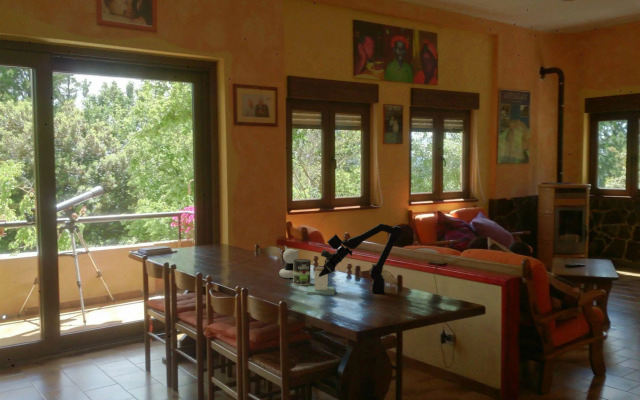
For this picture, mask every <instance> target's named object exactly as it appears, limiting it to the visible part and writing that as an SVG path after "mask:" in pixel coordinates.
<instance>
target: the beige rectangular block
mask: <svg viewBox="0 0 640 400" xmlns="http://www.w3.org/2000/svg"><path fill="white" fill-rule="evenodd" d="M323 269H324V267H323V266H315V267H314V286H315V290H320V291H327V287H328V282H329V281H328V275H329V274H326V275H324V276H321V277H319V274H320V273H321V271H322V270H323Z"/></svg>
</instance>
